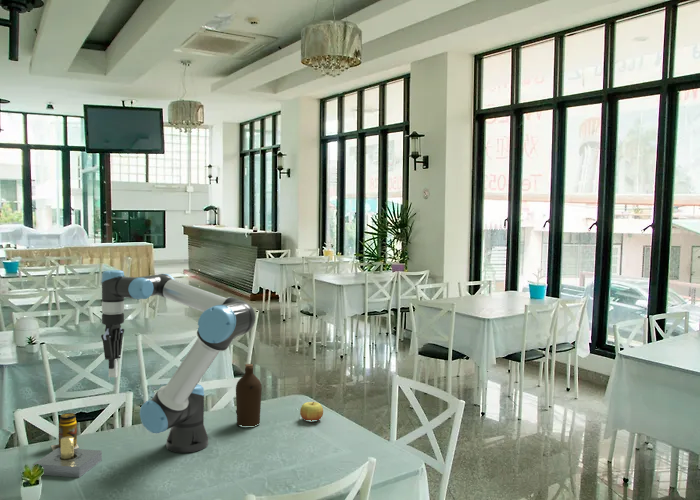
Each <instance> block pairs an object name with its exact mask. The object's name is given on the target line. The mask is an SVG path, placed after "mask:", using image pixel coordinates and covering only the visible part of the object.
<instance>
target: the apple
mask: <svg viewBox="0 0 700 500" xmlns="http://www.w3.org/2000/svg"><path fill="white" fill-rule="evenodd" d="M299 412H300V417H301V418H302V420H304V419H305V420H311V421H312V420H319V419H320V420H321V419H322V418H323V415H324V408H323V406H322V404H320V403H319V402H317V401H307V402H304V403H303V404H302V405H301V407H300V411H299ZM321 417H322V418H321ZM305 420H304V421H305ZM320 420H319V421H320Z"/></svg>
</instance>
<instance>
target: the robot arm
mask: <svg viewBox="0 0 700 500" xmlns="http://www.w3.org/2000/svg"><path fill="white" fill-rule="evenodd" d="M100 283H101V304H100V305H101V312H102V314H101V324H102V325H104V326H105V328H104V332H105V333H104V334H103V333H102V334H101V336H100V338H101V340H102V345H103V354H104V359H105V360H106V361H108V378H117V377H118V375H119V374H118V373H119V372H118V369H119V368H118V365H119V364H118V360H119V359H121V355H122V350H123V349H122V348H123V347H122V346H123V340H124V339H123V338H124V334H125V328H121V327H122V324H124V323H125V313H124V311H125V299H133V300H135V299H136V300H147V299H149V298H150V297H154V296H159V297H161V298H165V299H167V300H171V301H173V302H176V303H178V304H181V305H183V306H185V307H188V308H191V309H194V310H196V311H199V312H202V313H201V314H200V316H199V318H198V322H197V326H198V327H197V330H196V335H197V339H196V340H195V342H194V343H193V344H192V347H191V348H190V350H189V351H188V352H187V354H186V355H185V357H184V359H183V360H182V361H181V363H180V364H179V366H178V367H177V369H176V370H175V372H174V373H173V375H172V376H171V378H170V379H169V381H168V382H167V384H166V385H162V386H161V387H159V389H158V390H157V391H156V393H155V394H154V396H153V397H152V398H151V399H148V400H147V401H145V402H143V403H142V404H141V407H140V409H139V417H140V421H141V424H142V426H143V427H144V428H145V429H146V430H147V431H148V432H150V433H151V434H160V433H164V432H166V431H167V430H169V432H168V436H167V439H166V442H165V443H166V449H167V450H168V451H170V452H173V453H179V454H181V453H182V454H183V453H184V454H185V453H186V454H188V453H194V452H198V451H201V450H204V449H205V448H206V447H208V445H209V436H208V433H207V430H206V426H205V423H204V422H205V420H204V419H205V418H204V417H205V416H204V415H205V391H204V390H205V389H204V387H203V385H201V384H200V383H199V382H200V381H201V380H202V378H203V376H204V375H205V374H206V372H207V370H208V369H209V368H210V367H211V365H212V363H213V362H214V360H215V359H216V357H217V356H218V355H219V353H220V352H225V351H227V349H228V348H229V346H230V345H231V344H232V342H233V340H235V338H236V337H239V336H243V335H245V334H247V333H249V332H250V331H251V330H252V329H253V327H254V326H255V323H256V312H255V310H254V307H252V305H251V304H249V303H248V302H247V301H244V300H241V299H239V298H236V297H233V296H228V297H224V296H222V295H219V294H215V293H213V292H210V291H207V290H205V289H202V288H199V287H196V286H193V285H192V284H191V285H190V284H188V283H185V282H183V281H179V280H176V279H175V278H174V277H173V276H172V275H171V274H169V273H158V274H154V275H153V274H152V275H143V276H136V277H135V276H132V277H131V276H125V271H123V270H120V269H108V270H103V271H102V274H101V282H100Z"/></svg>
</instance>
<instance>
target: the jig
mask: <svg viewBox="0 0 700 500" xmlns="http://www.w3.org/2000/svg"><path fill="white" fill-rule="evenodd" d="M102 454H103V451H102V450H98V449H83V448H77V449H74V459H71V460H61V448H57V449H55V450H54V451H53V450H52V451H51V452H48V453H47V454H46V455H45V456H43V457H42V458H39V460H37V461H35V462H33V464H32V465H33V466H34V465H36V464H39V465H41V466H42V467H43V468H44V474H43V475H42V476H50V477H51V476H53V477H66V478H81V477H82V476H83V475H84V474H86V473H87V472H89V471H90V470H91V469H93V468H94V467H96V465H98V464H99V463H100V462H102ZM33 466H32V467H33Z"/></svg>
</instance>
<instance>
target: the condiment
mask: <svg viewBox="0 0 700 500" xmlns="http://www.w3.org/2000/svg"><path fill="white" fill-rule="evenodd" d="M76 419H77V418H76V414H75V413H73V412H68V413H67V412H66V413H63V414H60V416H59V423H58V443H57V444H52V445H50V446H51V450H52V451H54V450H55V449H57V448H61V438H63V437H67V436H72V437H74V449H80V446H79V445H78V441H77V437H78V429H77V428H78V427H77V425H78V423H77V420H76Z"/></svg>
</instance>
